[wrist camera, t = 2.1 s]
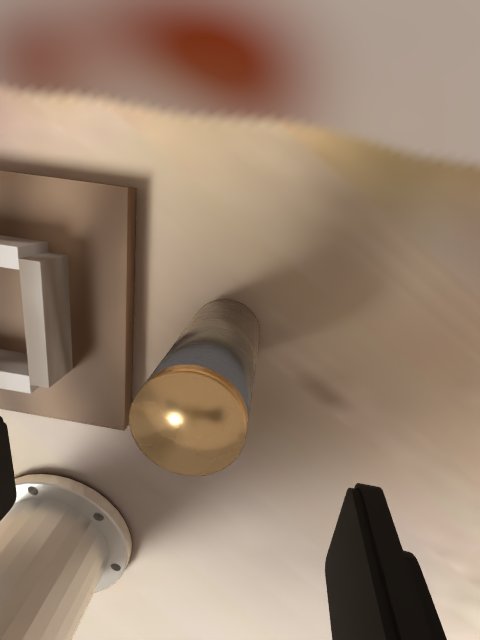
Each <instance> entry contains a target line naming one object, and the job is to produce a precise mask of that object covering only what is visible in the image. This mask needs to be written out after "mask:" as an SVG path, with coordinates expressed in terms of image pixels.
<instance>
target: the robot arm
mask: <svg viewBox="0 0 480 640" xmlns="http://www.w3.org/2000/svg"><path fill="white" fill-rule="evenodd" d="M131 549H132V542H131V536H130V532H129V530H128V527H127V525H126V523H125V521H124V519H123V518H122V516H121V515H120V513H119V512H118V510H117V509H116V508H115V507H114V506H113V505H112V504H111V503H110V502H109V501H108V500H107V499H106V498H104V497H103V496H102V495H100V494H99V493H98V492H97V491H95V490H93V489H91V488H90V487H88V486H86V485H84V484H82V483H79V482H77V481H74V480H72V479H69V478H65V477H61V476H57V475H47V474H34V475H26V476H22V477H19V478H15V477H14V470H13V464H12V457H11V450H10V443H9V436H8V430H7V425H6V423H4V422H3V419H2V417H1V416H0V640H72V638H73V636H74V634H75V632H76V629H77V627H78V625H79V623H80V621H81V619H82V617H83V615H84V613H85V610H86V608H87V606H88V604H89V602H90V600H91V598H92V596H93V594H94V593H96V592H98V591H101V590H104V589H106V588H108V587H110V586H111V585H113V584H114V583H116V581H117V580H118V579H119V578H120V577H121V576H122V574H123V572H124V570H125V568H126V566H127V564H128V561H129V558H130V555H131ZM325 576H326V585H327V594H328V603H329V612H330V621H331V631H332V640H447V639H446V636H445V633H444V631H443V628H442V625H441V622H440V620H439V617H438V614H437V611H436V609H435V606H434V603H433V601H432V598H431V595H430V592H429V590H428V587H427V584H426V582H425V579H424V576H423V573H422V571H421V568H420V565H419V563H418V561H417V559H416V557H415V556H414V555H413V554H412V553H410V552H407V551H403V549H402V546H401V544H400V541H399V538H398V535H397V532H396V529H395V526H394V523H393V520H392V517H391V514H390V511H389V508H388V505H387V502H386V499H385V496H384V493H383V491H382V489H381V488H380V487H375V486H370V485H365V484H360V483H357V484H356V485H355V488H354V489H353V488H348V490H347V492H346V496H345V499H344V502H343V505H342V508H341V512H340V515H339V518H338V521H337V525H336V528H335V531H334V534H333V537H332V541H331V544H330V547H329V550H328V554H327V557H326V563H325Z"/></svg>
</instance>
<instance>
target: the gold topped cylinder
mask: <svg viewBox="0 0 480 640" xmlns="http://www.w3.org/2000/svg"><path fill="white" fill-rule="evenodd" d="M259 337H260V329H259V324H258V322H257V319H256V317H255V316H254V314H253V313H252V312H251V311H250V310H249V309H248V308H247V307H246V306H244V305H243V304H241V303H239V302H236V301H233V300H226V299H224V300H216V301H213V302H210V303H208V304H206V305H205V306H204V307H202V308H201V309H200V310H199V312H198V313H197V314H196V316H195V317H194V318H193V320H192V321H191V322H190V324H189V325H188V326H187V328H186V329H185V330H184V332H183V333H182V334H181V336H180V337H179V338H178V340H177V341H176V343H175V344H174V345H173V347H172V348H171V349H170V351H169V352H168V353H167V355H166V356H165V357H164V359H163V360H162V361H161V363H160V364H159V365H158V367H157V368H156V369H155V371H154V372H153V374H152V375H151V376H150V378H149V379H148V380H147V382H146V383H145V384H144V386H143V387H142V388H141V390H140V391H139V392H138V394H137V395H136V397H135V398H134V400H133V403H132V405H131V408H130V414H129V425H130V430H131V433H132V436H133V438H134V440H135V442H136V444H137V445H138V447H139V448H140V450H141V451H142V452H143V453H144V454H145V455H146V456H147V457H148V458H149V459H150V460H151V461H153V462H154V463H155V464H157V465H159V466H160V467H162V468H164V469H166V470H168V471H171V472H174V473H178V474H182V475H189V476H200V475H207V474H212V473H215V472H218V471H220V470H222V469H224V468H225V467H227V466H228V465H230V464H231V463H232V462H233V461H234V460H235V459H236V458H237V457H238V455H239V454H240V452H241V450H242V448H243V446H244V442H245V438H246V431H247V424H248V417H249V409H250V402H251V395H252V388H253V380H254V373H255V366H256V359H257V351H258V344H259Z"/></svg>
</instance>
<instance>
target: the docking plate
mask: <svg viewBox="0 0 480 640" xmlns="http://www.w3.org/2000/svg"><path fill="white" fill-rule="evenodd" d="M135 228H136V188H129V187H122V186H114V185H107V184H99V183H92V182H84V181H77V180H69V179H62V178H54V177H47V176H39V175H32V174H24V173H17V172H9V171H2V170H0V409H5V410H10V411H16V412H22V413H27V414H33V415H39V416H44V417H50V418H56V419H61V420H67V421H73V422H79V423H84V424H90V425H96V426H101V427H107V428H113V429H118V430H125V429H126V427H127V426H128V424H129V414H130V408H131V405H132V364H133V319H134V273H135Z"/></svg>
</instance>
